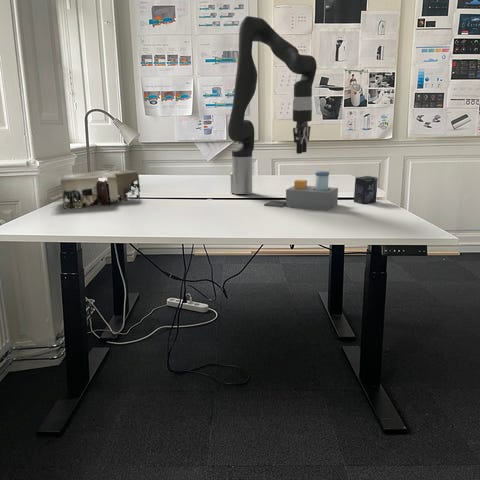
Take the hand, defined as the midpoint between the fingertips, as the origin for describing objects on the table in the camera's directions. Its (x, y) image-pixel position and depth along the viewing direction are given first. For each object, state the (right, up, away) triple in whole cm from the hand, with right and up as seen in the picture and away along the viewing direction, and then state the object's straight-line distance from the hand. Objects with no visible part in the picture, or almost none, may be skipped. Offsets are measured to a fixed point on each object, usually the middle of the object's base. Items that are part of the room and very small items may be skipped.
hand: (301, 152), depth 196 cm
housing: (+5, -21, +4) cm, 22 cm away
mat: (-10, -20, +6) cm, 23 cm away
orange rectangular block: (0, -16, +4) cm, 16 cm away
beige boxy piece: (-83, -20, +13) cm, 87 cm away
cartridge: (+8, -20, +1) cm, 21 cm away
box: (+28, -19, +9) cm, 35 cm away
